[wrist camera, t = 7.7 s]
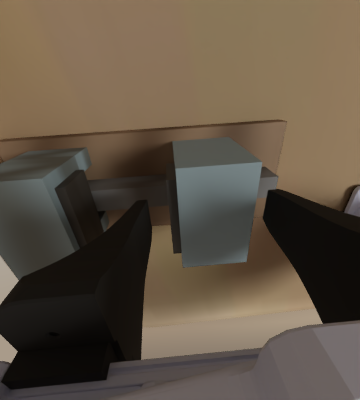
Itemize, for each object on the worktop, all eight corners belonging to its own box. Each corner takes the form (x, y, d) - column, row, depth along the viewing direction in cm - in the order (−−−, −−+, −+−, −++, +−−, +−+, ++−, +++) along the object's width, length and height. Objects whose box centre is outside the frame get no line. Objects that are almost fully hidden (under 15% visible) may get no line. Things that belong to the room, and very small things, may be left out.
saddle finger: (228, 137, 14) (262, 161, 9) (223, 213, 17) (246, 261, 12) (165, 141, 13) (164, 169, 9) (172, 217, 17) (174, 268, 12)
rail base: (279, 119, 14) (355, 138, 8) (262, 210, 18) (306, 264, 12) (3, 139, 14) (-111, 173, 8) (48, 228, 18) (-7, 292, 12)
